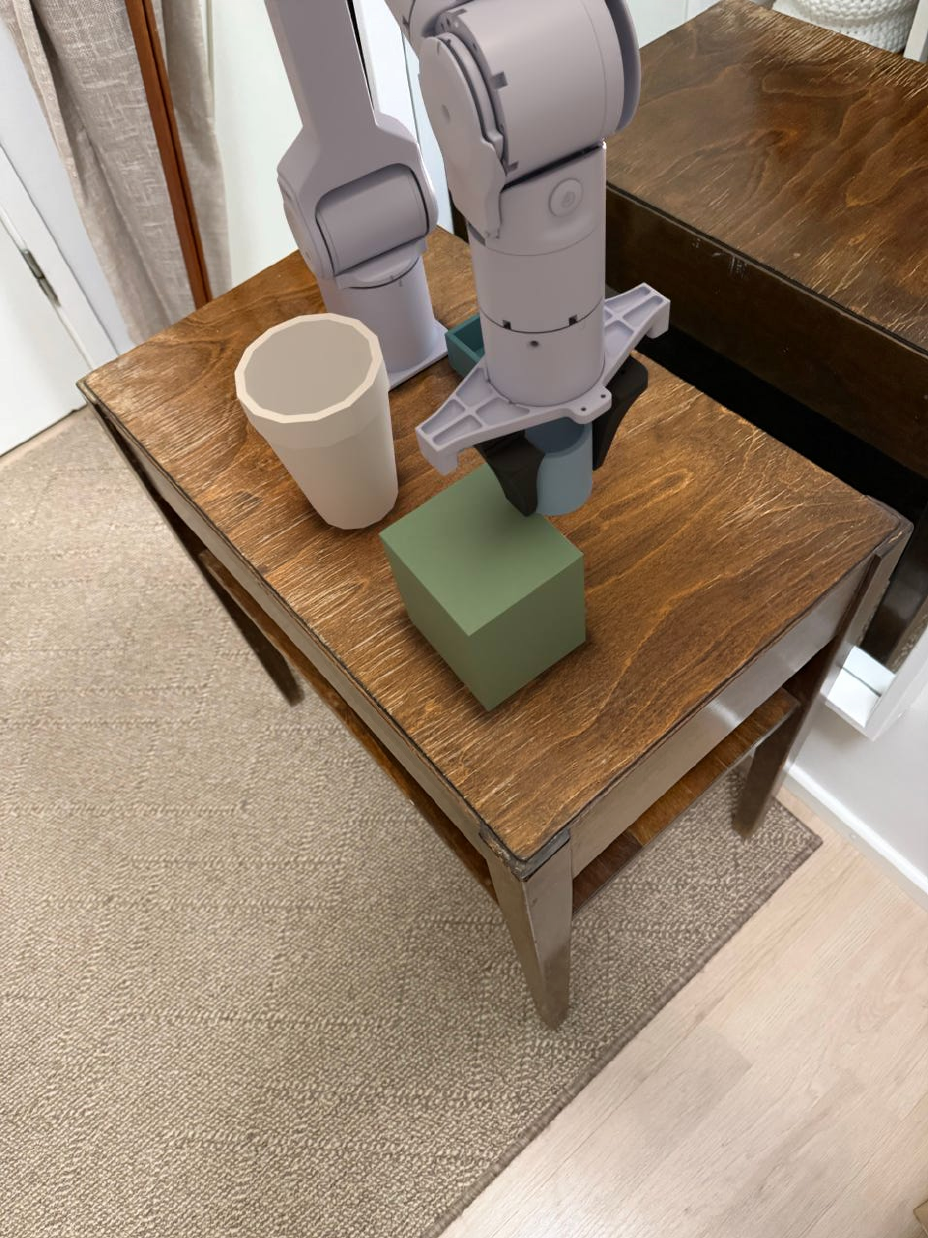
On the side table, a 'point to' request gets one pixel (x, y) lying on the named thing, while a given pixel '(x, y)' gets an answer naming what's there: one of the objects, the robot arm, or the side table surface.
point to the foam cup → (325, 413)
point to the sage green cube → (488, 585)
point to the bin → (465, 345)
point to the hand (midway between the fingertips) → (553, 481)
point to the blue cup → (563, 465)
